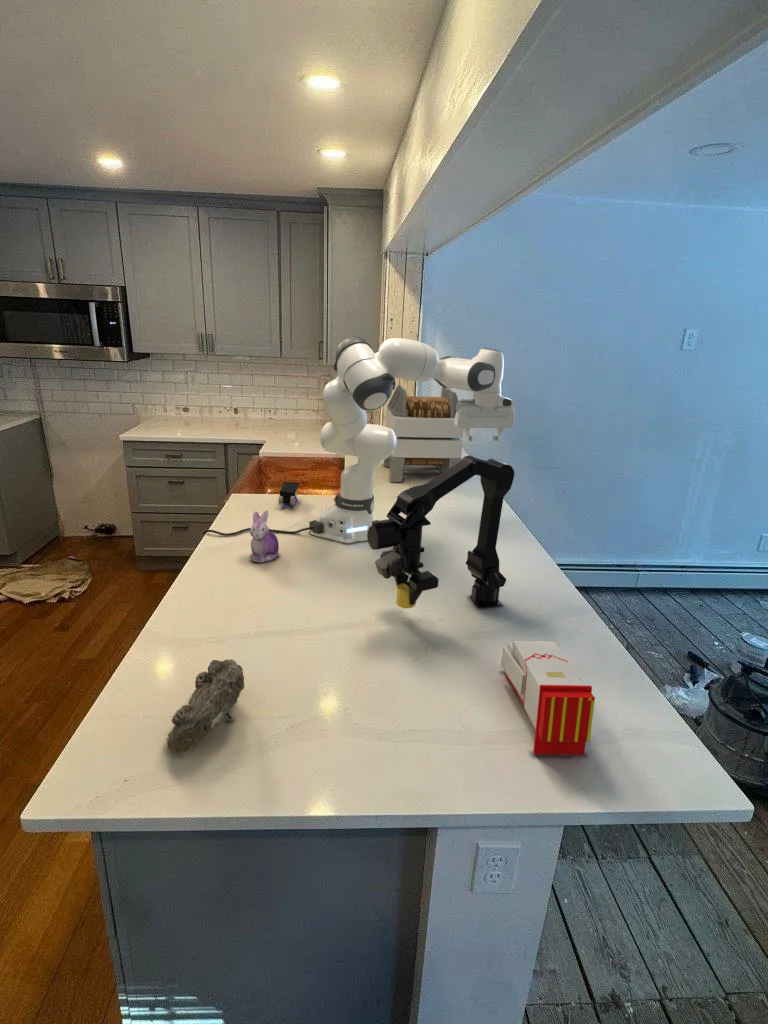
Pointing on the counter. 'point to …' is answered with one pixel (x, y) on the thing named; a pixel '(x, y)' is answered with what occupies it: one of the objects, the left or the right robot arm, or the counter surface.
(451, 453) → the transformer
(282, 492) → the black toy vehicle
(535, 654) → the toy
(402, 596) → the yellow cylinder
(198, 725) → the fossil
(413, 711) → the counter surface
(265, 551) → the figurine
